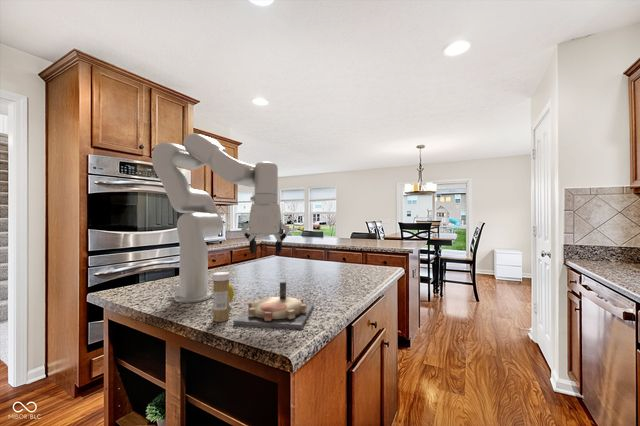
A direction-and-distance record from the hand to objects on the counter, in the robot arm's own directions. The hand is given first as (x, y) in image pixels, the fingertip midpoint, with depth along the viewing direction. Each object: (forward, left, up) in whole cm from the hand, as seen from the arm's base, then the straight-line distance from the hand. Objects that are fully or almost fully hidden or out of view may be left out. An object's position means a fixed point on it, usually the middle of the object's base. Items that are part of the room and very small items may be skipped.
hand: (265, 253), depth 91 cm
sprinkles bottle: (-9, -12, -18) cm, 24 cm away
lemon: (-14, 0, -18) cm, 23 cm away
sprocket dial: (+6, -6, -16) cm, 18 cm away
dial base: (+6, -6, -18) cm, 20 cm away
